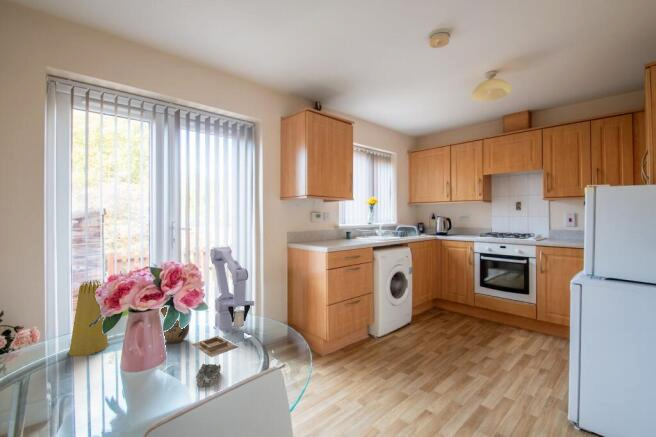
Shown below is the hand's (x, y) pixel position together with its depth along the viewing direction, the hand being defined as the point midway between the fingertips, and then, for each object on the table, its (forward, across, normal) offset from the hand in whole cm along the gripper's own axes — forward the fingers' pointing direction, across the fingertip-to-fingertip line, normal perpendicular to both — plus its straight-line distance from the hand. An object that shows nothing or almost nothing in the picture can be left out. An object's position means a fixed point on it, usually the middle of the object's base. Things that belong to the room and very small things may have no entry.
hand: (238, 321), depth 144 cm
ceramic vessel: (+8, -28, +3) cm, 30 cm away
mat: (+8, 0, 0) cm, 8 cm away
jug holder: (+8, -11, -7) cm, 15 cm away
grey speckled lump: (+9, -12, -34) cm, 38 cm away
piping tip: (+8, -63, +7) cm, 64 cm away
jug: (+2, 0, -2) cm, 3 cm away
